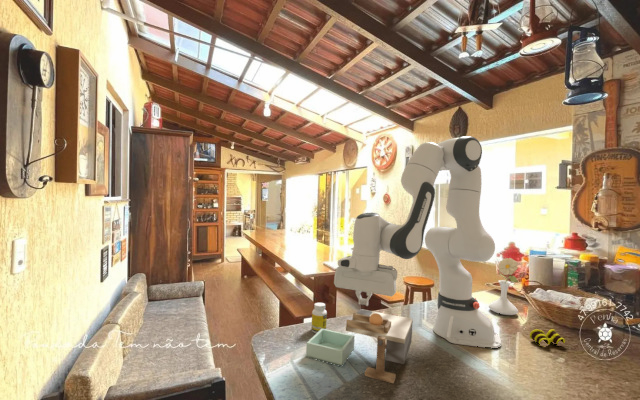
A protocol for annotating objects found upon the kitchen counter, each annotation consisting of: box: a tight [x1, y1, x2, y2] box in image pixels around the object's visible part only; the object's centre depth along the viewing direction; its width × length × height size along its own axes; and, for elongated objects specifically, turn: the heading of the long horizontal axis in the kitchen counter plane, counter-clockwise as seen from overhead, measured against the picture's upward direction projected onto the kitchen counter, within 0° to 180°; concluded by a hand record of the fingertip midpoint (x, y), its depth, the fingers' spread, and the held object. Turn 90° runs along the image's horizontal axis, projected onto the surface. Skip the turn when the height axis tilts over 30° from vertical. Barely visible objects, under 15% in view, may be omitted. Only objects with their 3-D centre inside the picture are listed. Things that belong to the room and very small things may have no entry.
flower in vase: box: [488, 257, 519, 316], centre depth 140 cm, size 13×11×25 cm
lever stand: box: [364, 312, 399, 384], centre depth 97 cm, size 8×22×11 cm, turn 156°
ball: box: [369, 313, 383, 326], centre depth 94 cm, size 4×4×4 cm
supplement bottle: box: [310, 302, 328, 334], centre depth 116 cm, size 5×5×10 cm
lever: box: [345, 308, 414, 365], centre depth 98 cm, size 17×16×9 cm
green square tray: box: [305, 328, 355, 367], centre depth 100 cm, size 12×12×4 cm
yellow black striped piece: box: [529, 328, 566, 345], centre depth 111 cm, size 10×5×5 cm, turn 96°
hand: (363, 304), depth 104 cm, fingers closed
